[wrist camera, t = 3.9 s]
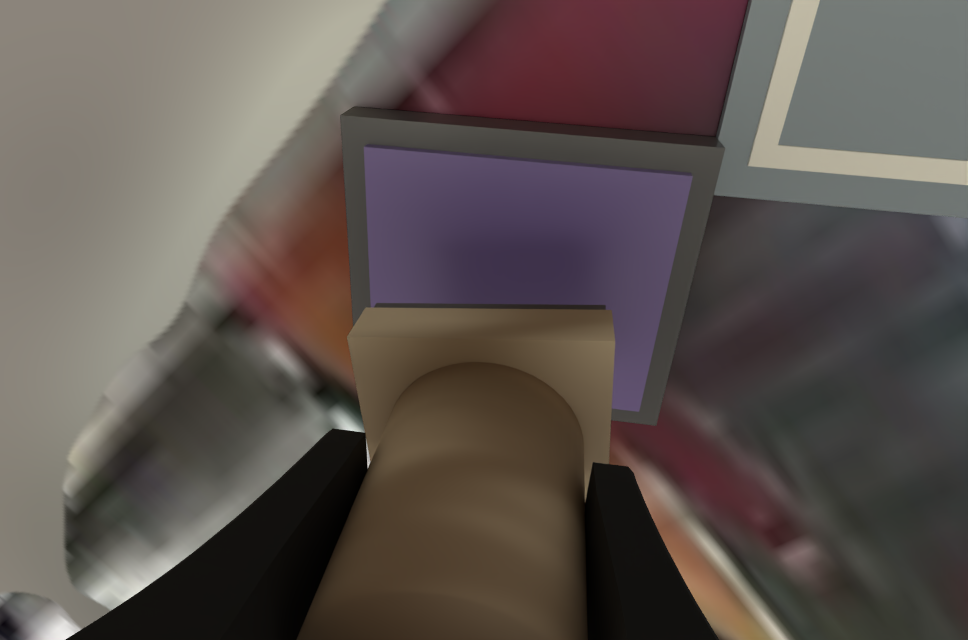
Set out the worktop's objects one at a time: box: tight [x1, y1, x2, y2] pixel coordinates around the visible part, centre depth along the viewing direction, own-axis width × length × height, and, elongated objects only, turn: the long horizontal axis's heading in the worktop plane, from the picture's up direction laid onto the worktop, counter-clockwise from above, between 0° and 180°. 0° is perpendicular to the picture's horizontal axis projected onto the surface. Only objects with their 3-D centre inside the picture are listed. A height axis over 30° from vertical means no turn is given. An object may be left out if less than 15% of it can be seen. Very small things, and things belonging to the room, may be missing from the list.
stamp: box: [296, 303, 615, 640], centre depth 11 cm, size 5×5×7 cm
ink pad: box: [340, 107, 725, 426], centre depth 19 cm, size 10×9×2 cm
